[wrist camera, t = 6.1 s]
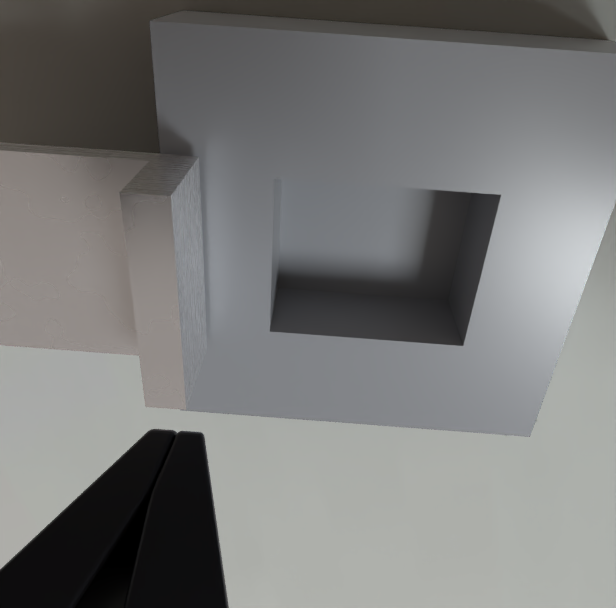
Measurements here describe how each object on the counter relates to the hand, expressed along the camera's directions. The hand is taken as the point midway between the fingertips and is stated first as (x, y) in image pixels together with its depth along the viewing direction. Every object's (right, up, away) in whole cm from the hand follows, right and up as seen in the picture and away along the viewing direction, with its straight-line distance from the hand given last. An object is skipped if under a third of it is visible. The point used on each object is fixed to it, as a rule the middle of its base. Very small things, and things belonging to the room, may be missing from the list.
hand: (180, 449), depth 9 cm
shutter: (-4, +4, +6) cm, 8 cm away
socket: (+4, +5, +8) cm, 10 cm away
